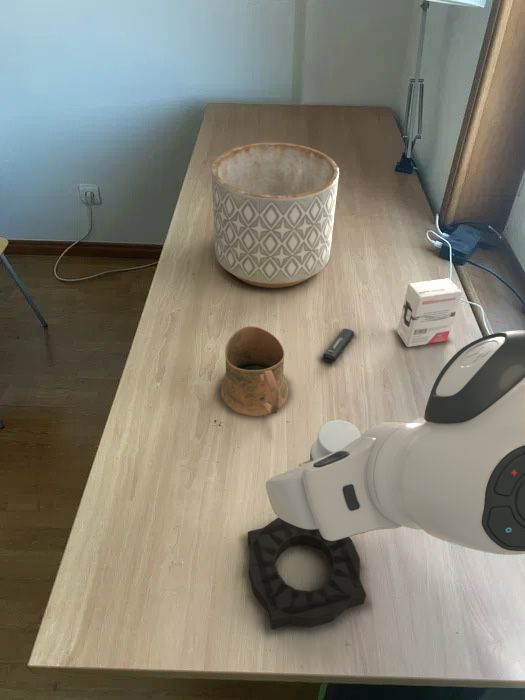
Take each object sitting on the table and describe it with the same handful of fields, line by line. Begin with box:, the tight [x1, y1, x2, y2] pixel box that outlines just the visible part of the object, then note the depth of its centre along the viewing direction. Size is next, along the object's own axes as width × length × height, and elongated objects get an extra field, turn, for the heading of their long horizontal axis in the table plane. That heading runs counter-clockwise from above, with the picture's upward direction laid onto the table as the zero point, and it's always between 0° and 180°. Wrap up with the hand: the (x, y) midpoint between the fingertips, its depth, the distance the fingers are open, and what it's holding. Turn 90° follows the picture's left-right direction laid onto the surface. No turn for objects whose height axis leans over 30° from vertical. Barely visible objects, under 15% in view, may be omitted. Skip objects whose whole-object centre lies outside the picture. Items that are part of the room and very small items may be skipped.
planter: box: [211, 142, 340, 289], centre depth 120 cm, size 26×26×22 cm
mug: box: [220, 325, 289, 417], centre depth 91 cm, size 12×18×12 cm, turn 15°
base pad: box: [247, 517, 367, 630], centre depth 73 cm, size 14×14×2 cm
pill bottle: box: [309, 419, 362, 460], centre depth 63 cm, size 6×6×10 cm
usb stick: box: [322, 328, 355, 363], centre depth 106 cm, size 10×3×2 cm, turn 149°
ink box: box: [396, 277, 463, 348], centre depth 105 cm, size 8×5×12 cm, turn 104°
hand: (332, 458), depth 63 cm, fingers closed on pill bottle, 6 cm apart
